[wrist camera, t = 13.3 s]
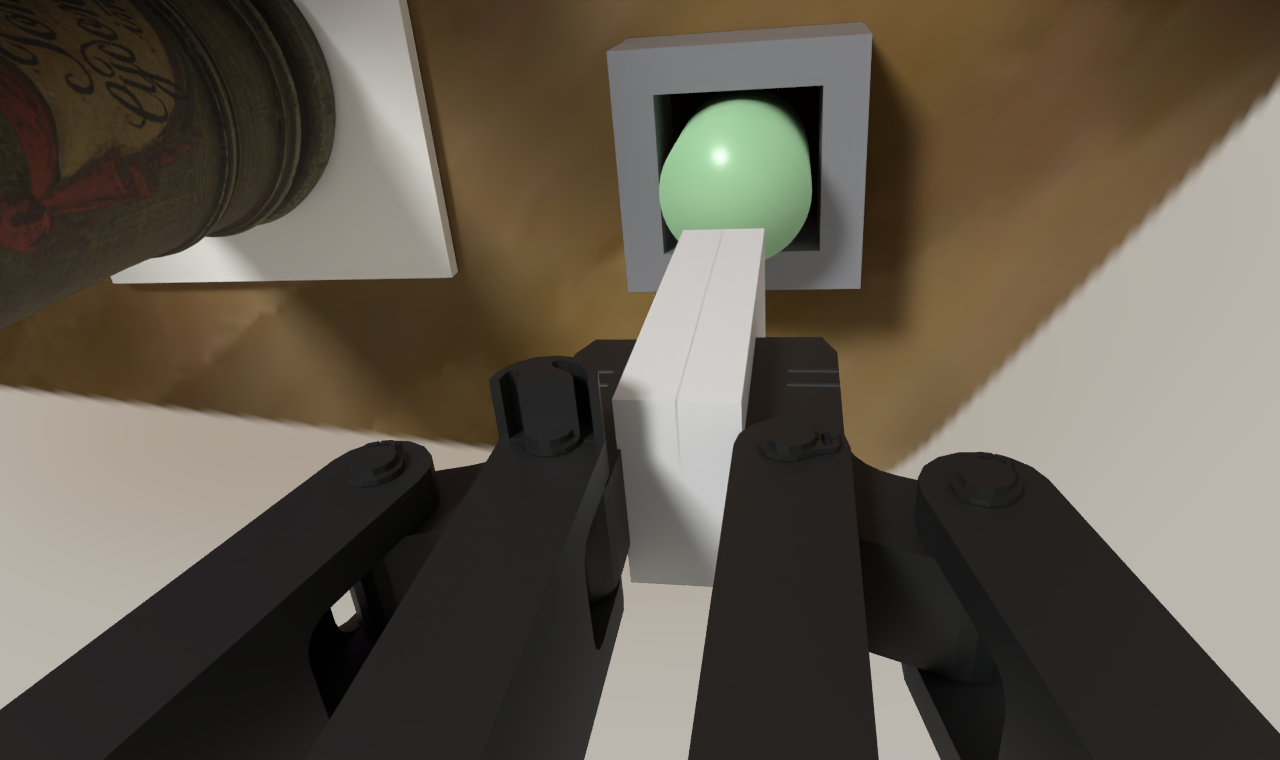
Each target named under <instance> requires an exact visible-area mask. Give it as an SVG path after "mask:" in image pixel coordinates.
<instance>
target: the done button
mask: <svg viewBox="0 0 1280 760" xmlns="http://www.w3.org/2000/svg"><path fill="white" fill-rule="evenodd" d="M811 198H812V180H811V168H810V155H809V143H808V138H807V134H806V131H805V128H804V125H803V123H802V121H801V119H800V118H799V116H798V115H797V113H796V112H795V111H794V110H793V108H792V107H791V106H790V105H789V104H788V103H786V102H785V101H784V100H783V99H781V98H780V97H778V96H776V95H775V94H772V93H770V92H768V91H765V90H761V89H750V90H733V91H723V92H721V93H718V94H716V95H714V96H713V97H711V98H709V99H708V100H707V101H705V102H704V103H703V104H702V105H701V106H700V107H699V108H698V109H697V110H696V111H695V112H694V113H693V115H692V116H691V117H690V119H689V121H688V122H687V124H686V126H685V128H684V129H683V131H682V133H681V134H680V136H679V138H678V140H677V141H676V143H675V145H674V147H673V148H672V150H671V152H670V153H669V155H668V157H667V159H666V161H665V164H664V166H663V169H662V173H661V177H660V184H659V199H660V206H661V210H662V214H663V217H664V219H665V221H666V224H667V226H668V227H669V229H670V231H671V233H672V234H673V235H674V237H675V238H676V239H677V240H678V241H679V239H680V236H681V234H682V231H683V230H711V229H753V228H765V260H766V259H768V258H770V257H772V256H774V255H775V254H777V253H778V252H780V251H782V250H783V249H784V248H785V247H786V246H787V245H789V244H790V242H791V241H792V240H793V239H794V238H795V237H796V236H797V234H798V233H799V231H800V230H801V228H802V226H803V224H804V222H805V221H806V218H807V215H808V212H809V209H810V204H811Z"/></svg>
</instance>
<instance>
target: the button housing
mask: <svg viewBox="0 0 1280 760" xmlns="http://www.w3.org/2000/svg"><path fill="white" fill-rule="evenodd" d="M606 53H607V64H608V75H609V86H610V97H611V108H612V119H613V130H614V141H615V152H616V163H617V174H618V185H619V197H620V208H621V219H622V230H623V241H624V252H625V263H626V274H627V285H628V292H657V291H658V289H659V286H660V284H661V282H662V279H663V277H664V274H665V272H666V270H667V267H668V265H669V262H670V260H671V258H672V255H673V253H674V251H675V248H676V246H677V243H678V240H677V239H676V238H675V237H674V235H673V234H672V233H671V231H670V229H669V227H668V226H667V224H666V221H665V219H664V217H663V214H662V210H661V206H660V199H659V184H660V177H661V173H662V169H663V166H664V164H665V161H666V159H667V157H668V155H669V153H670V152H671V150H672V148H673V147H674V146H673V129H672V112H671V95H670V94H680V93H698V92H715V91H733V90H750V89H768V88H786V87H803V86H819V128H818V177H817V216H807V218H806V221H805V222H804V224H803V226H802V228H801V230H800V231H799V233H798V234H797V236H796V237H795V238H794V239H793V240H792V241H791V242H790V244H789V245H787V246H786V247H785V248H784V249H783V250H782V251H780V252H778V253H777V254H775V255H774V256H772V257H770V258H768V259H766V260H765V290H805V289H860V287H861V266H862V245H863V223H864V202H865V181H866V159H867V138H868V117H869V95H870V74H871V53H872V33H871V31H870V30H869V29H868V28H867V27H866V26H865V24H864V23H863V22H855V23H840V24H826V25H812V26H797V27H783V28H768V29H754V30H740V31H725V32H711V33H697V34H682V35H668V36H654V37H639V38H628V39H627V40H625V41H623V42H621V43H620V44H618V45H616V46H615V47H613V48H611V49H610V50H608V51H606Z"/></svg>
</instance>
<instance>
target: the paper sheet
mask: <svg viewBox="0 0 1280 760" xmlns="http://www.w3.org/2000/svg"><path fill="white" fill-rule="evenodd" d="M293 1H294V3H295V4H296V5H297V7H298V8H299V9H300V11H301V12H302V14H303V16H304V17H305V19H306V20H307V22H308V24H309V25H310V27H311V29H312V31H313V32H314V34H315V36H316V38H317V40H318V43H319V45H320V47H321V49H322V52H323V54H324V57H325V60H326V62H327V66H328V69H329V72H330V76H331V81H332V86H333V91H334V99H335V112H336V123H335V134H334V141H333V147H332V152H331V155H330V158H329V161H328V164H327V166H326V168H325V170H324V172H323V175H322V176H321V178H320V180H319V181H318V183H317V185H316V186H315V187H314V189H313V190H312V191H311V192H310V194H309V195H308V196H307V197H306V198H305V199H304V201H303V202H302V203H301V204H300V205H298V206H297V207H296V208H295V209H294V210H292V211H291V212H290V213H288V214H287V215H285V216H283V217H281V218H280V219H278V220H275V221H273V222H270V223H266V224H263V225H258V226H255V227H254V228H252V229H250V230H248V231H246V232H243V233H240V234H237V235H232V236H227V237H204V238H203V239H202V240H201V241H199V242H198V243H197V244H195V245H194V246H192V247H190V248H188V249H186V250H184V251H182V252H180V253H177V254H173V255H169V256H164V257H159V258H151V259H149V260H146V261H143V262H141V263H139V264H137V265H134V266H132V267H129V268H127V269H125V270H123V271H121V272H119V273H117V274H115V275H112V276H110V277H111V279H112V282H113V284H123V283H179V282H236V281H293V280H349V279H406V278H452V277H453V276H454V275H455V274H456V273H457V272H458V269H457V264H456V259H455V253H454V248H453V243H452V237H451V232H450V227H449V221H448V216H447V211H446V206H445V200H444V195H443V190H442V184H441V179H440V174H439V169H438V163H437V158H436V153H435V147H434V142H433V137H432V131H431V126H430V121H429V116H428V110H427V105H426V100H425V94H424V89H423V84H422V79H421V73H420V68H419V63H418V57H417V52H416V47H415V41H414V36H413V31H412V26H411V20H410V15H409V10H408V4H407V0H293Z"/></svg>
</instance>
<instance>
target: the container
mask: <svg viewBox="0 0 1280 760" xmlns="http://www.w3.org/2000/svg"><path fill="white" fill-rule="evenodd" d="M335 123H336V112H335V99H334V91H333V86H332V81H331V76H330V72H329V69H328V66H327V62H326V60H325V57H324V54H323V52H322V49H321V47H320V45H319V43H318V40H317V38H316V36H315V34H314V32H313V31H312V29H311V27H310V25H309V24H308V22H307V20H306V19H305V17H304V16H303V14H302V12H301V11H300V9H299V8H298V7H297V5H296V4H295V3H294V1H293V0H0V330H1V329H3V328H5V327H7V326H9V325H11V324H13V323H16V322H18V321H20V320H22V319H24V318H26V317H28V316H30V315H32V314H34V313H36V312H38V311H40V310H42V309H44V308H46V307H48V306H50V305H52V304H54V303H56V302H58V301H60V300H62V299H64V298H66V297H68V296H71V295H73V294H75V293H77V292H79V291H81V290H83V289H85V288H87V287H89V286H91V285H93V284H95V283H97V282H100V281H102V280H104V279H106V278H108V277H110V276H112V275H115V274H117V273H119V272H121V271H123V270H125V269H127V268H129V267H132V266H134V265H137V264H139V263H141V262H143V261H146V260H149V259H151V258H159V257H164V256H169V255H173V254H177V253H180V252H182V251H184V250H186V249H188V248H190V247H192V246H194V245H195V244H197V243H198V242H199V241H201V240H202V239H203V238H204V237H227V236H232V235H237V234H240V233H243V232H246V231H248V230H250V229H252V228H254V227H255V226H258V225H263V224H266V223H270V222H273V221H275V220H278V219H280V218H281V217H283V216H285V215H287V214H288V213H290V212H291V211H292V210H294V209H295V208H296V207H297V206H298V205H300V204H301V203H302V202H303V201H304V199H305V198H306V197H307V196H308V195H309V194H310V192H311V191H312V190H313V189H314V187H315V186H316V185H317V183H318V181H319V180H320V178H321V176H322V175H323V172H324V170H325V168H326V166H327V164H328V161H329V158H330V155H331V152H332V147H333V141H334V134H335Z"/></svg>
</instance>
